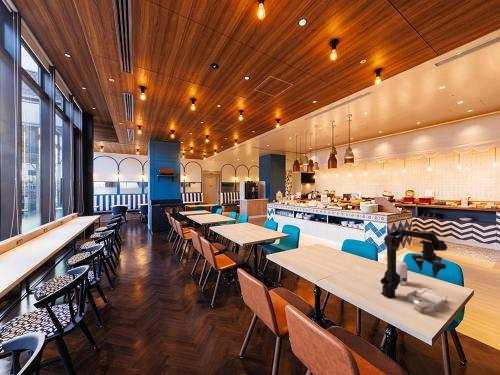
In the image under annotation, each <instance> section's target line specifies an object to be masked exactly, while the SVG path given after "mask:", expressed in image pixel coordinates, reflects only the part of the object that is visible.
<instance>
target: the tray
mask: <svg viewBox="0 0 500 375" xmlns="http://www.w3.org/2000/svg"><path fill="white" fill-rule="evenodd" d="M415 296H417V297H419V298H422V299H424V300H427V301H429V302H432V303H434V304H436V303H438V302H439V301H441V300H442V299H443V300H444V303H445V302H448V295H447V294H443V293H440V292H438V291H435V290H432V289H429V288H426V287H422V289H421V290H420V291H417V293H416V294H415Z"/></svg>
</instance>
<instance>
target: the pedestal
mask: <svg viewBox="0 0 500 375" xmlns="http://www.w3.org/2000/svg"><path fill="white" fill-rule="evenodd" d="M413 310H414V311H416V312H418V313H419V314H427V312H428V309H427V308H422V307H419V306H416V305H415V304H413Z"/></svg>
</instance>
